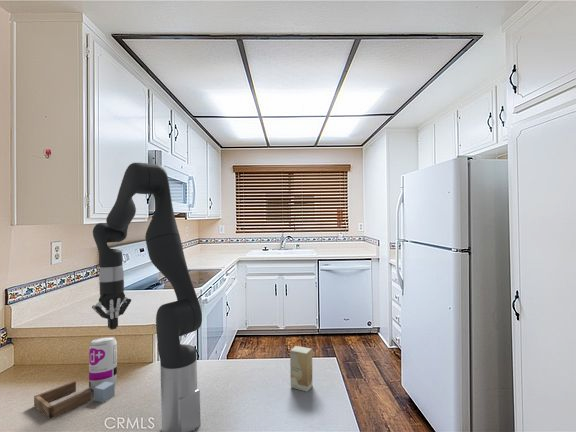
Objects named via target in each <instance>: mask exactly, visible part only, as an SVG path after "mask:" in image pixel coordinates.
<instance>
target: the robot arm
mask: <svg viewBox="0 0 576 432" xmlns="http://www.w3.org/2000/svg"><path fill="white" fill-rule="evenodd" d="M169 181H170V180H169V177H168V173H167V171H166V169H165V167H164V166H163V165H160V164H158V163H147V162H131V163H130V164H129V165H128V166H127V168H126V169H125V171H124V173H123V177H122V179H121V183H120V186H119V189H118V193H117V197H116V200H115V203H114V205H113V207H112V208H111V210H110V211H109V213H108V215H107V216H106V221H105V222H99V223H97V224H96V225H95V226H94V227H93V229H92V236H93V239H94V240H93V241H94V242H95V245H96V248H97V252H98V255H99V273H98V277H99V278H98V282H99V299H98V302H97V303H96V304H95V305H92V306H91V309H92V310H94V312H95V313H96V314H98V315H99V316H100V317H101V318H102V319H107V328H108V329H110V330H112V331H113V330H116V329H117V327H119V316H122V315H124V314H125V312H126V310H127V309H128V307H129V305H130V304H131V302H132V299H131V298H128V297H127V296H126V294H125V280H124V279H125V278H124V277H125V276H124V267H123V252H122V250H121V249H118V248H111V247H110V246H109V245H108V243H121V242H123V241H125V240H126V238H127V236H128V229H129V225H130V223H131V222H132V221H133V219H134V218H135V216H136V212H137V208H136V204H135V202H134V200H133V196H135V195H138V194H139V195H152V196H153V198H154V205H155V206H154V207H155V209H154V212H153V213H154V214H153V215H152V218H151V220H150V222H149V225H148V226H147V229H146V231H145V236H144V237H145V243H146V247H147V248H146V249H147V253H148V257H149V259H150V262H151V263H152V265H153V266H154V267H155V268H156V270H158V271H159V273H160V274H162V275H163V276H164V277H165V278H166V280H168V282H169V283H170V284H171V286H172V288H173V291H174V293H175V296H176V301H171V302H167V303H163V304H161V305H160V306H159V307H158V309H157V312H156V315H155V328H156V340H157V341H156V343H157V352H158V356H159V361H160V362H159V363H160V366H159V367H160V368H159V369H160V402H161V403H160V404H161V406H160V407H161V432H193V431H194V430H196V429H198V428H199V427H201V423H202V422H201V393H200V389H198V363H197V362H198V361H197V359H198V358H197V349H196V347H194V346H193V345H190V344H186V343H185V344H184V343H183V344H181V340H180V337H182V336H186V335H188V334H191V333H193V332H196V331H197V330H199V329H200V327H201V325H202V324H203V323H202V322H203V314H202V307H201V305H200V301H199V298H198V296H197V293H196V290H195V287H194V285H193V282H192V279H191V276H190V273H189V268H188V266H187V261H186V257H185V253H184V247H183V244H182V240H181V239H182V238H181V235H180V233H179V232H180V231H179V229H178V225H177V222H176V217H175V212H174V208H173V201H172V195H171V194H172V193H171V188H170V182H169ZM103 308H104V309H105V311H104V310H103Z"/></svg>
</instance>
